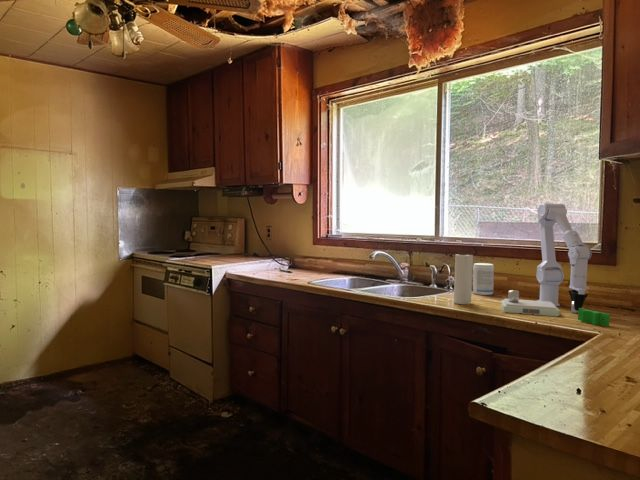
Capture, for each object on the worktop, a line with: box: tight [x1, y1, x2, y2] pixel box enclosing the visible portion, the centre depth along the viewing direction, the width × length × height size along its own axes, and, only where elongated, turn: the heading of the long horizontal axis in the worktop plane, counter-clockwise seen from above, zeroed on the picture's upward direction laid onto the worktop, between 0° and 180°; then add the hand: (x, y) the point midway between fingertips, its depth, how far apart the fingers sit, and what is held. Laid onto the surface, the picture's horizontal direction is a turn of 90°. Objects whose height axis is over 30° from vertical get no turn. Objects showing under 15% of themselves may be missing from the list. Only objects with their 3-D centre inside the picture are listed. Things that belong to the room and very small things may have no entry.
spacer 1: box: [507, 289, 520, 303], centre depth 193 cm, size 4×4×4 cm
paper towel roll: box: [453, 253, 474, 305], centre depth 203 cm, size 7×6×21 cm
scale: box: [500, 298, 560, 317], centre depth 191 cm, size 15×20×3 cm
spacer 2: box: [570, 301, 584, 315], centre depth 188 cm, size 4×4×4 cm
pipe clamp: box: [577, 308, 611, 328], centre depth 171 cm, size 11×4×5 cm, turn 25°
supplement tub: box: [472, 262, 495, 296], centre depth 229 cm, size 10×10×15 cm
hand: (576, 309), depth 189 cm, fingers closed on spacer 2, 4 cm apart
